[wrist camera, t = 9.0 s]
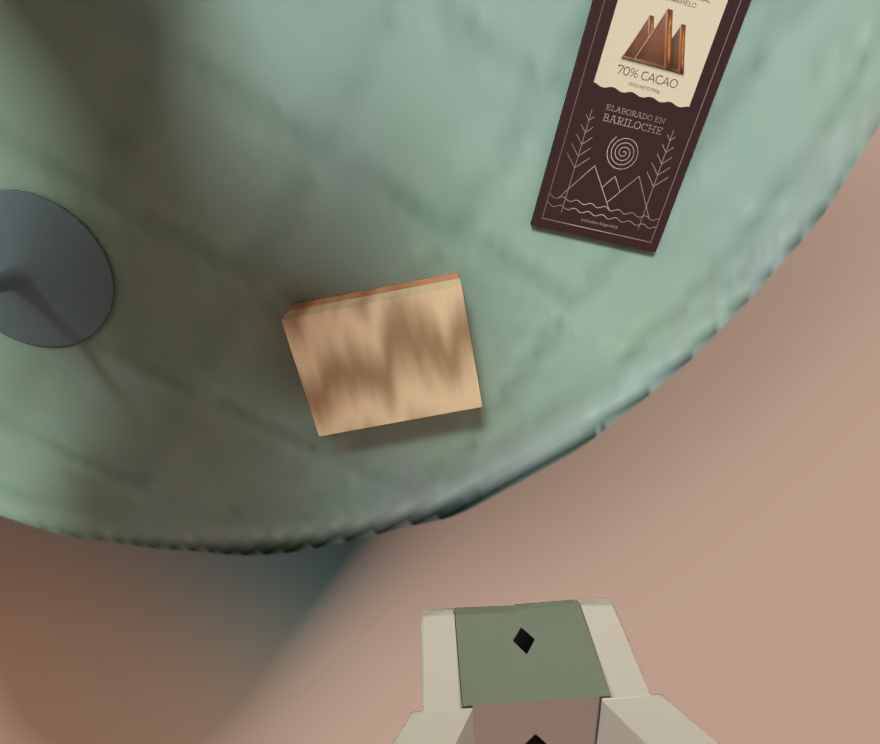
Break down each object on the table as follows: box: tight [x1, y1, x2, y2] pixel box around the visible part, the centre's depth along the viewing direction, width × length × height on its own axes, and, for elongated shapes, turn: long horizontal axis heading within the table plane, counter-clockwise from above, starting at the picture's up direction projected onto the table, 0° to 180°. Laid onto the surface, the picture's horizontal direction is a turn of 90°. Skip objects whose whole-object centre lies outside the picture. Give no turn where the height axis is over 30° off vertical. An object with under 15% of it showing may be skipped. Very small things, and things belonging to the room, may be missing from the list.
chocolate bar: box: [531, 0, 751, 252], centre depth 34 cm, size 9×1×18 cm
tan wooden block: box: [281, 273, 482, 436], centre depth 38 cm, size 9×4×12 cm
